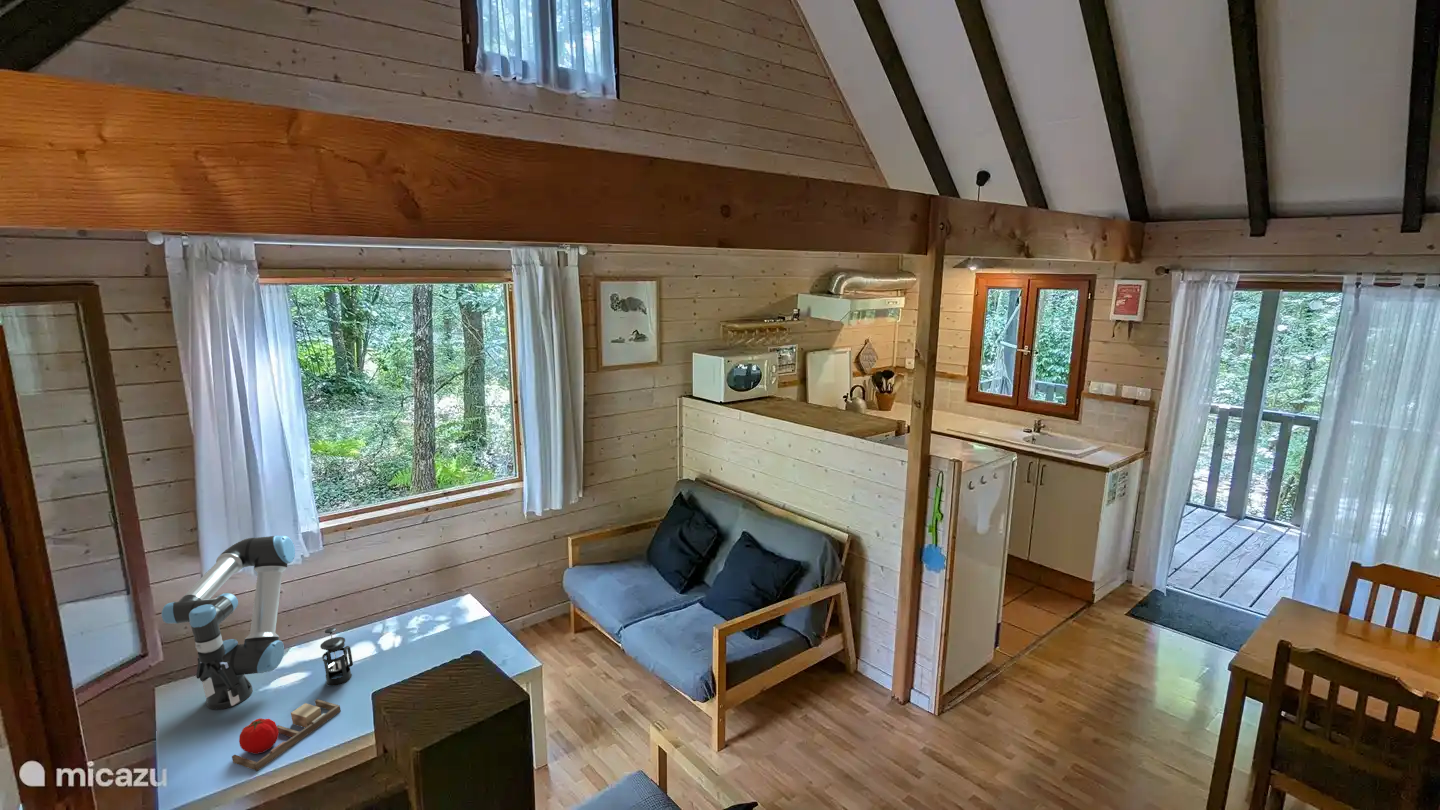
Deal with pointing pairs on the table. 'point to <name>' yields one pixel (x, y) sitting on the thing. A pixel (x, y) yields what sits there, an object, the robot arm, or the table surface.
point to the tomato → (258, 736)
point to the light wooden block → (305, 715)
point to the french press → (336, 660)
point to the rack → (290, 733)
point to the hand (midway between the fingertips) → (222, 699)
